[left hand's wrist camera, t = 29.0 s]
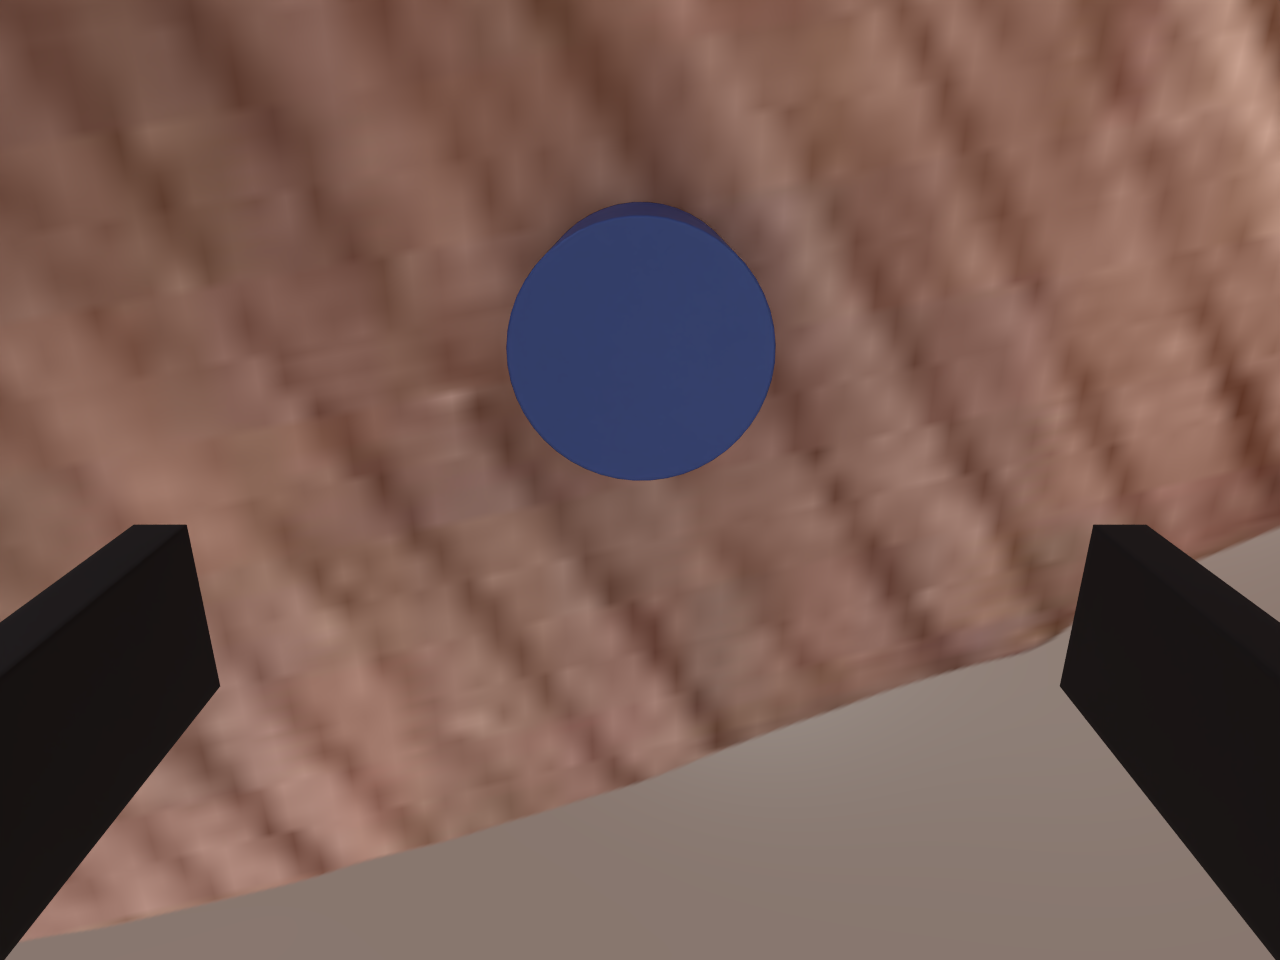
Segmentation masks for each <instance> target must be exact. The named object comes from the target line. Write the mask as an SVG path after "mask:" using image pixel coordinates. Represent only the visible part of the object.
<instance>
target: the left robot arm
mask: <svg viewBox="0 0 1280 960" xmlns="http://www.w3.org/2000/svg"><path fill="white" fill-rule="evenodd" d="M219 687H220V683H219V678H218V673H217V669H216V664H215V659H214V654H213V649H212V645H211V640H210V635H209V630H208V625H207V620H206V616H205V611H204V606H203V601H202V596H201V592H200V587H199V582H198V577H197V572H196V567H195V563H194V558H193V553H192V548H191V543H190V539H189V534H188V529H187V525H133V526H131V527H130V528H129V529H127V530H126V531H125V532H123V533H122V534H120V535H119V536H118V537H116V538H115V539H114V540H112V541H111V542H110V543H108V544H107V545H105V546H104V547H103V548H101V549H100V550H99V551H97V552H96V553H94V554H93V555H92V556H90V557H89V558H88V559H86V560H85V561H84V562H82V563H81V564H79V565H78V566H77V567H75V568H74V569H73V570H71V571H70V572H69V573H67V574H66V575H64V576H63V577H62V578H60V579H59V580H58V581H56V582H55V583H54V584H52V585H51V586H49V587H48V588H47V589H45V590H44V591H43V592H41V593H40V594H39V595H37V596H36V597H34V598H33V599H32V600H30V601H29V602H28V603H26V604H25V605H24V606H22V607H21V608H19V609H18V610H17V611H15V612H14V613H13V614H11V615H10V616H8V617H7V618H6V619H4V620H3V621H2V622H0V960H5V958H6V957H7V956H8V954H9V953H10V952H11V951H12V949H13V948H14V947H15V946H16V944H17V943H18V942H19V941H20V939H21V938H22V937H23V936H24V934H25V933H26V932H27V930H28V929H29V928H30V927H31V925H32V924H33V923H34V922H35V920H36V919H37V918H38V917H39V915H40V914H41V913H42V911H43V910H44V909H45V908H46V906H47V905H48V904H49V903H50V901H51V900H52V899H53V897H54V896H55V895H56V894H57V892H58V891H59V890H60V889H61V887H62V886H63V885H64V884H65V882H66V881H67V880H68V878H69V877H70V876H71V875H72V873H73V872H74V871H75V870H76V868H77V867H78V866H79V865H80V863H81V862H82V861H83V859H84V858H85V857H86V856H87V854H88V853H89V852H90V851H91V849H92V848H93V847H94V846H95V844H96V843H97V842H98V840H99V839H100V838H101V837H102V835H103V834H104V833H105V832H106V830H107V829H108V828H109V826H110V825H111V824H112V823H113V821H114V820H115V819H116V818H117V816H118V815H119V814H120V813H121V811H122V810H123V809H124V807H125V806H126V805H127V804H128V802H129V801H130V800H131V799H132V797H133V796H134V795H135V794H136V792H137V791H138V790H139V788H140V787H141V786H142V785H143V783H144V782H145V781H146V780H147V778H148V777H149V776H150V775H151V773H152V772H153V771H154V769H155V768H156V767H157V766H158V764H159V763H160V762H161V761H162V759H163V758H164V757H165V755H166V754H167V753H168V752H169V750H170V749H171V748H172V747H173V745H174V744H175V743H176V742H177V740H178V739H179V738H180V736H181V735H182V734H183V733H184V731H185V730H186V729H187V728H188V726H189V725H190V724H191V723H192V721H193V720H194V719H195V717H196V716H197V715H198V714H199V712H200V711H201V710H202V709H203V707H204V706H205V705H206V704H207V702H208V701H209V700H210V698H211V697H212V696H213V695H214V693H215V692H216V691H217V690H218V688H219ZM1060 687H1061V688H1062V690H1063V691H1064V692H1065V693H1066V695H1067V696H1068V697H1069V698H1070V700H1071V701H1072V702H1073V704H1074V705H1075V706H1076V707H1077V709H1078V710H1079V711H1080V712H1081V714H1082V715H1083V716H1084V717H1085V719H1086V720H1087V721H1088V723H1089V724H1090V725H1091V726H1092V727H1093V729H1094V730H1095V731H1096V733H1097V734H1098V735H1099V736H1100V738H1101V739H1102V740H1103V742H1104V743H1105V744H1106V745H1107V747H1108V748H1109V749H1110V750H1111V752H1112V753H1113V754H1114V755H1115V757H1116V758H1117V759H1118V761H1119V762H1120V763H1121V764H1122V766H1123V767H1124V768H1125V769H1126V771H1127V772H1128V773H1129V774H1130V776H1131V777H1132V778H1133V780H1134V781H1135V782H1136V783H1137V785H1138V786H1139V787H1140V788H1141V790H1142V791H1143V792H1144V794H1145V795H1146V796H1147V797H1148V799H1149V800H1150V801H1151V802H1152V804H1153V805H1154V806H1155V807H1156V809H1157V810H1158V811H1159V813H1160V814H1161V815H1162V816H1163V818H1164V819H1165V820H1166V821H1167V823H1168V824H1169V825H1170V826H1171V828H1172V829H1173V830H1174V832H1175V833H1176V834H1177V835H1178V837H1179V838H1180V839H1181V840H1182V842H1183V843H1184V844H1185V846H1186V847H1187V848H1188V849H1189V851H1190V852H1191V853H1192V854H1193V856H1194V857H1195V858H1196V859H1197V861H1198V862H1199V863H1200V865H1201V866H1202V867H1203V868H1204V870H1205V871H1206V872H1207V873H1208V875H1209V876H1210V877H1211V878H1212V880H1213V881H1214V882H1215V884H1216V885H1217V886H1218V887H1219V889H1220V890H1221V891H1222V892H1223V894H1224V895H1225V896H1226V897H1227V899H1228V900H1229V901H1230V903H1231V904H1232V905H1233V906H1234V908H1235V909H1236V910H1237V911H1238V913H1239V914H1240V915H1241V917H1242V918H1243V919H1244V920H1245V922H1246V923H1247V924H1248V925H1249V927H1250V928H1251V929H1252V930H1253V932H1254V933H1255V934H1256V935H1257V937H1258V938H1259V939H1260V941H1261V942H1262V943H1263V944H1264V946H1265V947H1266V948H1267V949H1268V951H1269V952H1270V953H1271V954H1272V956H1273V957H1274V958H1275V960H1280V622H1278V621H1277V620H1276V619H1274V618H1273V617H1271V616H1270V615H1269V614H1267V613H1266V612H1265V611H1263V610H1262V609H1261V608H1259V607H1258V606H1256V605H1255V604H1254V603H1252V602H1251V601H1250V600H1248V599H1247V598H1246V597H1244V596H1243V595H1241V594H1240V593H1239V592H1237V591H1236V590H1235V589H1233V588H1232V587H1231V586H1229V585H1228V584H1226V583H1225V582H1224V581H1222V580H1221V579H1220V578H1218V577H1217V576H1216V575H1214V574H1213V573H1211V572H1210V571H1209V570H1207V569H1206V568H1205V567H1203V566H1202V565H1201V564H1199V563H1198V562H1196V561H1195V560H1194V559H1192V558H1191V557H1190V556H1188V555H1187V554H1186V553H1184V552H1183V551H1181V550H1180V549H1179V548H1177V547H1176V546H1175V545H1173V544H1172V543H1170V542H1169V541H1168V540H1166V539H1165V538H1164V537H1162V536H1161V535H1160V534H1158V533H1157V532H1155V531H1154V530H1153V529H1151V528H1150V527H1149V526H1147V525H1093V529H1092V534H1091V539H1090V543H1089V548H1088V553H1087V558H1086V563H1085V567H1084V572H1083V577H1082V582H1081V587H1080V592H1079V596H1078V601H1077V606H1076V611H1075V616H1074V620H1073V625H1072V630H1071V635H1070V640H1069V645H1068V649H1067V654H1066V659H1065V664H1064V669H1063V673H1062V678H1061V683H1060Z"/></svg>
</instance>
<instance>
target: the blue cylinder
mask: <svg viewBox="0 0 1280 960" xmlns="http://www.w3.org/2000/svg"><path fill="white" fill-rule="evenodd" d="M775 346H776V345H775V333H774V325H773V321H772V316H771V312H770V309H769V306H768V303H767V300H766V298H765V295H764V293H763V291H762V289H761V287H760V285H759V283H758V281H757V280H756V278H755V276H754V275H753V274H752V272H751V271H750V269H749V268H748V267H747V265H746V264H745V263H744V262H743V261H742V260H741V259H740V257H739V256H738V255H737V254H736V253H735V252H734V251H733V250H732V249H731V248H730V247H729V246H728V245H727V244H726V243H725V242H724V241H723V240H722V239H721V238H720V237H719V236H718V235H717V233H716V232H715V231H714V230H712V229H711V228H710V227H709V226H707V225H706V224H705V223H704V222H702V221H701V220H699V219H698V218H696V217H694V216H693V215H691V214H689V213H687V212H684V211H682V210H680V209H677V208H675V207H671V206H667V205H664V204H658V203H650V202H631V203H624V204H618V205H614V206H611V207H607V208H604V209H602V210H599V211H597V212H595V213H593V214H591V215H589V216H587V217H586V218H584V219H582V220H581V221H579V222H578V223H577V224H575V225H574V226H573V227H572V228H571V229H569V230H568V231H567V232H566V233H565V234H564V235H563V236H562V237H561V238H560V239H559V240H558V241H557V242H556V244H555V245H554V246H553V247H552V248H551V249H550V250H549V251H548V252H547V253H546V254H545V255H544V256H543V257H542V259H541V260H540V261H539V262H538V263H537V264H536V265H535V266H534V268H533V269H532V271H531V272H530V274H529V275H528V277H527V278H526V280H525V281H524V283H523V285H522V287H521V289H520V291H519V293H518V295H517V297H516V300H515V303H514V306H513V309H512V312H511V316H510V321H509V326H508V331H507V346H506V350H507V365H508V370H509V375H510V380H511V384H512V387H513V390H514V392H515V395H516V398H517V400H518V402H519V404H520V406H521V408H522V410H523V412H524V414H525V416H526V417H527V419H528V420H529V422H530V423H531V425H532V426H533V428H534V429H535V430H536V431H537V432H538V433H539V435H540V436H541V437H542V438H543V439H544V440H545V441H546V442H547V443H548V444H549V445H550V446H551V447H552V448H554V449H555V450H556V451H557V452H558V453H560V454H561V455H563V456H564V457H566V458H567V459H568V460H570V461H571V462H573V463H575V464H577V465H579V466H581V467H583V468H585V469H587V470H590V471H593V472H595V473H598V474H601V475H605V476H609V477H613V478H617V479H626V480H656V479H664V478H669V477H673V476H677V475H681V474H684V473H687V472H689V471H692V470H694V469H697V468H699V467H701V466H703V465H705V464H706V463H708V462H710V461H712V460H714V459H715V458H716V457H718V456H719V455H721V454H722V453H723V452H725V451H726V450H727V449H728V448H730V447H731V446H732V445H733V444H734V443H735V442H736V441H737V440H738V439H739V438H740V437H741V436H742V435H743V433H744V432H745V431H746V430H747V429H748V427H749V426H750V425H751V423H752V422H753V420H754V419H755V417H756V415H757V414H758V412H759V410H760V408H761V406H762V404H763V402H764V400H765V398H766V396H767V392H768V389H769V386H770V383H771V380H772V375H773V369H774V364H775Z"/></svg>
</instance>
